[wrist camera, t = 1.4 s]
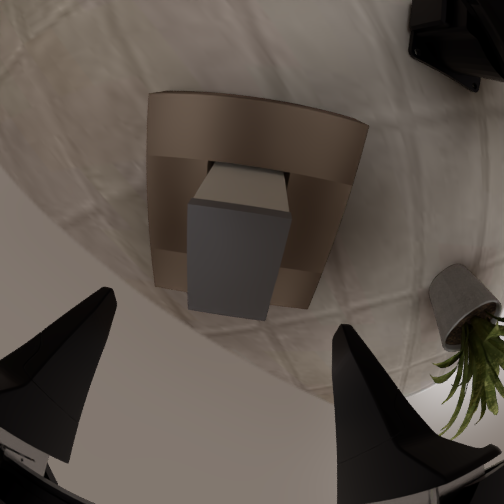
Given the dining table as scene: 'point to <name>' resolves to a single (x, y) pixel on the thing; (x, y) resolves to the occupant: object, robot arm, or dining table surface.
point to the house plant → (469, 338)
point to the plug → (236, 240)
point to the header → (258, 155)
